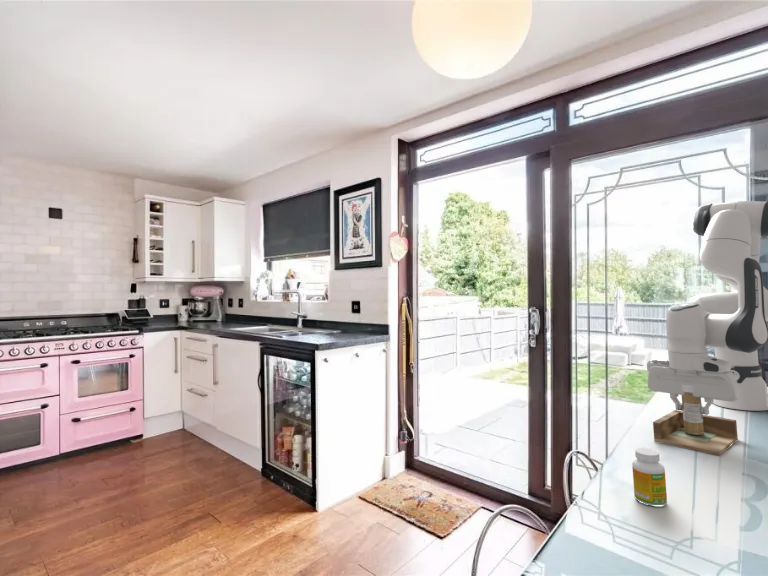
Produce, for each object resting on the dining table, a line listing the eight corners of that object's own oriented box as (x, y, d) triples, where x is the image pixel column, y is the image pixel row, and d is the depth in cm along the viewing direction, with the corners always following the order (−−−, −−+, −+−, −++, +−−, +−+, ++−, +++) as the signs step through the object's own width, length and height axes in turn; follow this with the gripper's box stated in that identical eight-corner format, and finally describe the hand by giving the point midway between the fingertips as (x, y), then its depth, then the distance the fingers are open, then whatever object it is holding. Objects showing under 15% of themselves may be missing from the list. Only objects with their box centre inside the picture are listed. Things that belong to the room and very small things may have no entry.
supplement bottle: (655, 510, 75) (651, 458, 75) (628, 498, 80) (624, 449, 80) (673, 503, 77) (669, 453, 78) (645, 492, 82) (642, 444, 82)
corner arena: (676, 427, 118) (675, 410, 118) (737, 439, 107) (736, 420, 107) (654, 441, 109) (652, 422, 109) (719, 455, 98) (717, 434, 98)
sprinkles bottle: (688, 429, 113) (683, 381, 114) (707, 432, 109) (703, 383, 110) (681, 432, 111) (676, 384, 111) (700, 436, 107) (696, 386, 107)
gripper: (641, 360, 117) (645, 407, 117) (731, 367, 101) (736, 422, 100) (650, 357, 121) (654, 403, 120) (738, 363, 104) (743, 416, 104)
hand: (692, 411), depth 110 cm, fingers closed on sprinkles bottle, 4 cm apart
